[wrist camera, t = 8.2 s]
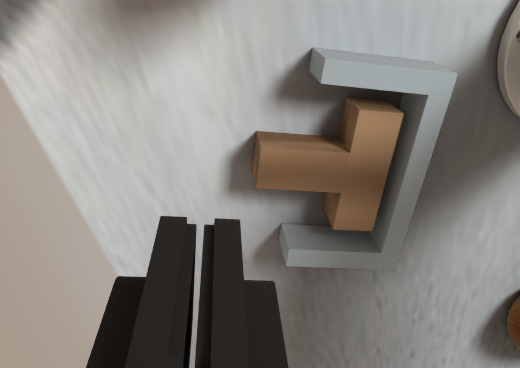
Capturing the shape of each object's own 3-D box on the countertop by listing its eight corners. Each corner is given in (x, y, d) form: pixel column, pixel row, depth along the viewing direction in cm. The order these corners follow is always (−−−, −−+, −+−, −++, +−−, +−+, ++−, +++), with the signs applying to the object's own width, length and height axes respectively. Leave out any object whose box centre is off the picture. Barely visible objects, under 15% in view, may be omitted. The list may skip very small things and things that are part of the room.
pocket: (432, 61, 31) (458, 73, 28) (378, 244, 37) (394, 270, 34) (312, 47, 30) (325, 58, 26) (278, 239, 36) (285, 266, 33)
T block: (261, 89, 30) (266, 101, 28) (387, 100, 32) (403, 113, 29) (247, 205, 34) (251, 226, 32) (359, 210, 36) (372, 231, 33)
